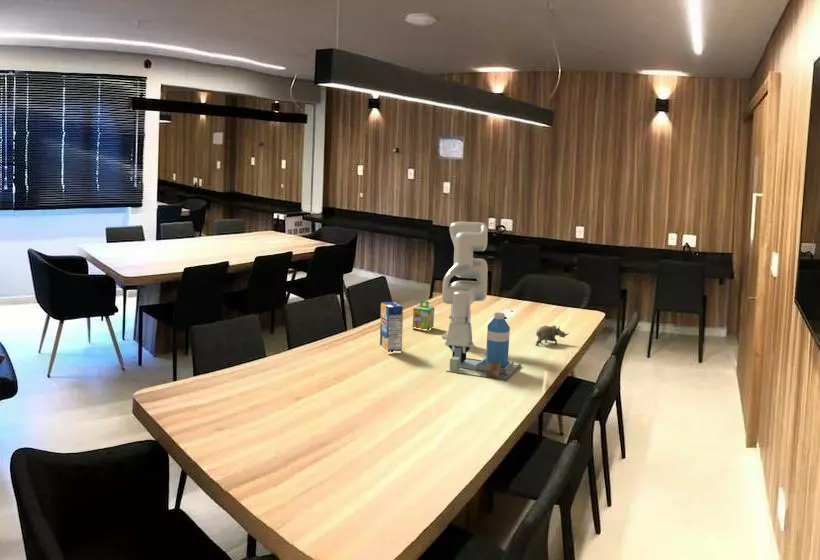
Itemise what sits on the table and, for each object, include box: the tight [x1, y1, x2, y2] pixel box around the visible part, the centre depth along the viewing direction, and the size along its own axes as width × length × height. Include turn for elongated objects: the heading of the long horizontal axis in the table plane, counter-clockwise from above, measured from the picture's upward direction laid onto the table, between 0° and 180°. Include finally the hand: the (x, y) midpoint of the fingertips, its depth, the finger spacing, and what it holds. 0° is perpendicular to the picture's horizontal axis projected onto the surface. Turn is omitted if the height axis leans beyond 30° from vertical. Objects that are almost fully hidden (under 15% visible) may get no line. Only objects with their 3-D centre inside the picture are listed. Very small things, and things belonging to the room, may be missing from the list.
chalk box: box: [412, 300, 435, 330], centre depth 357 cm, size 9×9×15 cm
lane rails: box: [445, 357, 522, 382], centre depth 286 cm, size 26×23×2 cm
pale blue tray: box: [454, 346, 514, 374], centre depth 290 cm, size 24×13×8 cm, turn 67°
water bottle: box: [485, 312, 511, 368], centre depth 286 cm, size 9×9×25 cm
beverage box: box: [379, 301, 404, 352], centre depth 313 cm, size 7×11×22 cm, turn 21°
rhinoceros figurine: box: [535, 325, 569, 347], centre depth 335 cm, size 8×14×15 cm
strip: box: [448, 357, 477, 375], centre depth 282 cm, size 10×6×6 cm, turn 67°
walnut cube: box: [486, 362, 501, 378], centre depth 277 cm, size 5×5×5 cm
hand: (459, 360), depth 294 cm, fingers closed on pale blue tray, 3 cm apart
